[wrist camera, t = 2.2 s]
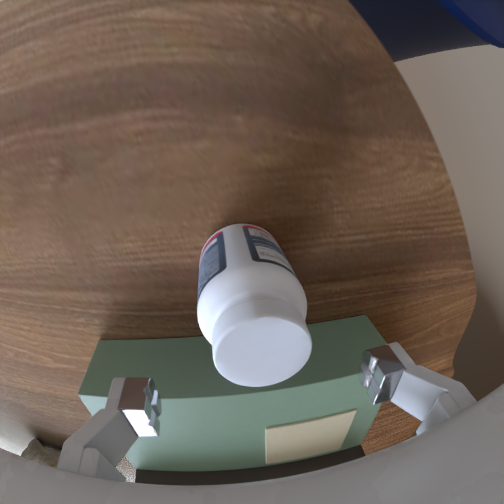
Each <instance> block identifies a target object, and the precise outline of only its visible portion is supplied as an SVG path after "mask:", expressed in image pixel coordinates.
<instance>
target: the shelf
mask: <svg viewBox="0 0 504 504" xmlns="http://www.w3.org/2000/svg"><path fill="white" fill-rule="evenodd" d="M306 326H307V328H308V330H309V333H310V335H311V339H312V350H311V354H310V357H309V359H308V361H307V362H306V363H305V365H304V366H303V367H302V368H301V369H300V370H299V371H298V372H297V373H296V374H294V375H293V376H291V377H290V378H288V379H286V380H284V381H282V382H279V383H276V384H273V385H268V386H261V387H250V386H243V385H239V384H236V383H233V382H231V381H229V380H228V379H226V378H225V377H223V376H222V375H221V374H220V373H219V371H218V370H217V369H216V367H215V364H214V361H213V353H212V345H211V344H210V343H209V341H208V340H207V339H206V338H205V336H198V337H183V338H164V339H136V340H99V342H98V344H97V346H96V349H95V351H94V354H93V356H92V358H91V361H90V363H89V366H88V368H87V371H86V374H85V376H84V379H83V381H82V384H81V387H80V390H79V392H78V395H79V397H80V398H81V400H82V401H83V403H84V404H85V406H86V407H87V409H88V410H89V411H90V413H91V414H92V416H94V415H95V414H96V413H97V412H98V411H99V410H100V409H105V405H106V401H107V398H108V394H109V391H110V387H111V384H112V380H113V379H114V378H115V377H126V378H127V377H130V378H152V379H153V381H154V383H155V390H157V391H158V392H159V395H160V398H161V406H162V409H161V415H160V416H159V417H158V420H159V422H160V431H159V437H139V436H138V439H137V440H136V442H135V443H134V444H133V445H132V447H131V448H130V449H129V451H128V452H127V453H126V454H125V457H126V458H127V459H128V460H129V461H130V462H131V463H132V464H133V466H134V467H135V468H136V479H135V483H143V484H155V485H179V486H199V485H223V484H236V483H247V482H255V481H263V480H270V479H276V478H282V477H288V476H293V475H298V474H303V473H307V472H312V471H316V470H320V469H324V468H328V467H331V466H335V465H339V464H342V463H345V462H349V461H352V460H355V459H358V458H361V457H364V456H365V453H364V451H363V449H362V446H361V445H360V444H361V443H362V441H363V439H364V437H365V435H366V434H367V432H368V430H369V428H370V426H371V424H372V422H373V420H374V418H375V416H376V414H377V412H378V410H379V408H380V406H381V404H382V403H379V404H376V405H372V403H371V401H370V399H369V397H368V396H367V390H368V389H367V388H365V387H363V386H362V385H361V383H360V380H359V376H358V369H359V365H360V364H361V363H362V362H363V359H362V354H363V352H364V351H365V350H368V349H372V348H375V347H379V346H383V345H386V344H387V343H386V342H385V340H384V339H383V337H382V336H381V335H380V333H379V332H378V331H377V329H376V328H375V326H374V325H373V324H372V322H371V321H370V320H369V318H368V317H367V316H366V315H360V316H355V317H349V318H344V319H338V320H332V321H326V322H320V323H314V324H307V325H306Z"/></svg>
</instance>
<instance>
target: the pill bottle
mask: <svg viewBox="0 0 504 504" xmlns="http://www.w3.org/2000/svg"><path fill="white" fill-rule="evenodd" d="M306 314H307V300H306V296H305V293H304V290H303V288H302V285H301V284H300V282H299V280H298V278H297V276H296V274H295V273H294V271H293V269H292V267H291V266H290V264H289V262H288V260H287V259H286V257H285V255H284V253H283V251H282V250H281V248H280V246H279V245H278V243H277V241H276V240H275V239H274V237H273V236H272V235H271V234H270V233H269V232H267V231H266V230H264V229H263V228H261V227H258V226H255V225H251V224H234V225H230V226H227V227H224V228H222V229H220V230H219V231H217V232H216V233H214V234H213V235H212V236H211V237H210V238H209V239H208V240H207V242H206V243H205V245H204V247H203V249H202V252H201V256H200V263H199V281H198V300H197V317H198V323H199V326H200V329H201V331H202V333H203V335H204V336H205V338H206V339H207V340H208V341H209V343H210V344H211V345H212V353H213V361H214V364H215V367H216V369H217V370H218V371H219V373H220V374H221V375H222V376H223V377H225V378H226V379H228V380H229V381H231V382H233V383H236V384H239V385H243V386H250V387H261V386H268V385H273V384H276V383H279V382H282V381H284V380H286V379H288V378H290V377H291V376H293V375H294V374H296V373H297V372H298V371H299V370H300V369H301V368H302V367H303V366H304V365H305V363H306V362H307V361H308V359H309V357H310V354H311V350H312V339H311V335H310V333H309V330H308V328H307V326H306V322H305V319H306Z"/></svg>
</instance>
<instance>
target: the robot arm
mask: <svg viewBox="0 0 504 504" xmlns="http://www.w3.org/2000/svg"><path fill="white" fill-rule="evenodd" d="M362 359H363V362H362V363H361V364H360V365H359V369H358V376H359V380H360V383H361V385H362V386H363V387H365V388H367V389H368V390H367V396H368V397H369V399H370V401H371V403H372V405H376V404H379V403H383V402H386V401H389V400H391V402H393V403H394V404H396V405H397V406H399V407H401V408H402V409H404V410H405V411H407V412H408V413H410V414H411V415H413V416H414V417H416V418H418V419H419V420H421V421H422V423H421V424H420V426H419V427H418V429H417V431H416V433H417V435H416V436H414V437H412V438H410V439H408V440H405V441H403V442H401V443H398V444H396V445H394V446H391V447H389V448H386V449H383V450H381V451H378V452H375V453H373V454H370V455H367V456H364V457H361V458H358V459H355V460H352V461H349V462H345V463H342V464H339V465H335V466H331V467H328V468H324V469H320V470H316V471H312V472H307V473H303V474H298V475H293V476H288V477H282V478H276V479H270V480H263V481H255V482H247V483H236V484H223V485H199V486H179V485H155V484H143V483H133V482H126V478H125V477H124V476H123V475H122V474H121V473H120V472H119V471H118V470H117V469H116V468H115V467H116V466H117V465H118V463H119V462H120V461H121V460H122V458H123V457H124V456H125V454H126V453H127V452H128V451H129V449H130V448H131V447H132V445H133V444H134V443H135V442H136V440H137V439H138V436H139V437H159V431H160V422H159V420H158V417H159V416H160V415H161V409H162V406H161V398H160V395H159V392H158V391H157V390H155V383H154V381H153V379H152V378H130V377H127V378H126V377H115V378H114V379H113V380H112V384H111V387H110V391H109V394H108V398H107V401H106V405H105V409H100V410H99V411H98V412H97V413H96V414H95V415H94V416H92V417H91V418H90V419H89V420H88V421H87V422H86V423H85V424H83V425H82V426H81V427H80V428H79V429H78V430H77V431H76V432H74V433H73V434H72V435H71V436H70V437H69V438H68V439H66V440H65V441H64V443H63V446H62V450H61V454H60V457H59V461H58V465H57V468H55V467H52V466H48V465H45V464H42V463H39V462H36V461H33V460H30V459H27V458H24V457H21V456H19V455H16V454H13V453H11V452H8V451H6V450H4V449H1V448H0V504H504V384H503V385H501V386H500V387H498V388H497V389H496V390H494V391H493V392H491V393H490V394H489V395H487V396H486V397H484V398H483V399H481V400H480V401H478V402H477V401H476V400H475V399H474V397H473V396H472V395H471V394H470V392H469V391H468V390H467V388H466V387H465V386H464V385H463V383H460V382H458V381H455V380H453V379H451V378H449V377H446V376H444V375H441V374H439V373H437V372H434V371H432V370H430V369H428V368H425V367H423V366H421V365H418V366H417V365H416V364H415V363H414V362H413V360H412V359H411V358H410V356H409V355H408V354H407V353H406V351H405V350H404V349H403V348H402V346H401V345H400V344H399V343H398V342H394V343H390V344H386V345H383V346H379V347H375V348H372V349H368V350H365V351H364V352H363V354H362Z"/></svg>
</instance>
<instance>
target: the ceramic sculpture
mask: <svg viewBox="0 0 504 504" xmlns="http://www.w3.org/2000/svg"><path fill="white" fill-rule="evenodd" d="M60 454H61V451H60V450H52V449H48V448H45V447H44V446H43V445H42V444H41V443H40V442H39V441H38V440H37V439H33V440H32V441H31V442H30V443H29V445H28V447H27V448H26V449H25V450H24V451H23V453H22V455H21V457H24V458H27V459H30V460H33V461H36V462H39V463H42V464H45V465H48V466H52V467H55V468H57V465H58V461H59V457H60Z"/></svg>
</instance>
